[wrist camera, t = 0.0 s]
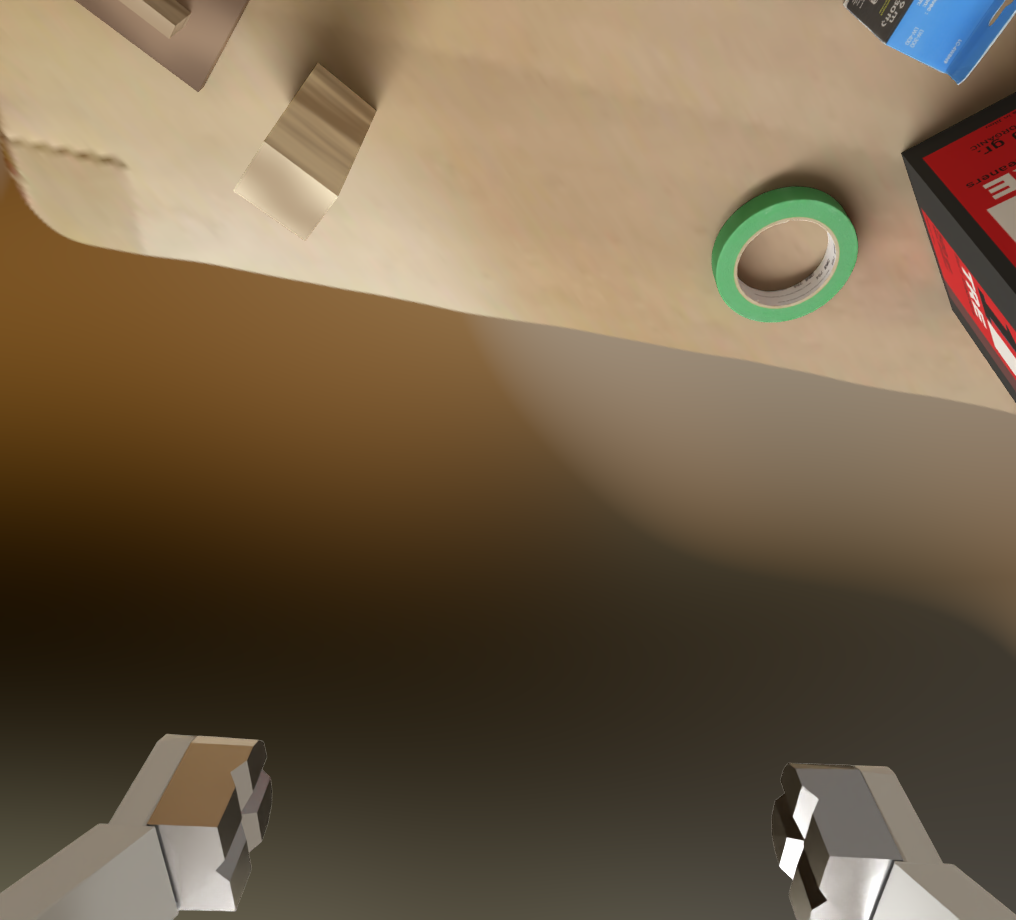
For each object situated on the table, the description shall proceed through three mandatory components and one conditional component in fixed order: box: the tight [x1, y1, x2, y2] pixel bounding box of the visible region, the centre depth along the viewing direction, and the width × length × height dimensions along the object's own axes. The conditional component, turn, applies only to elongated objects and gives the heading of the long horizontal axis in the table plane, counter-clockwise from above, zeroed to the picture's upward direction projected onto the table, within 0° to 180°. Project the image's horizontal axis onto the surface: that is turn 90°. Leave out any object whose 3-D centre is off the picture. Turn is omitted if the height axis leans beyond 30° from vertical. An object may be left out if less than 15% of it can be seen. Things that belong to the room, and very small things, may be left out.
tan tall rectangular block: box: [233, 63, 376, 241], centre depth 50 cm, size 4×5×14 cm
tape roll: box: [712, 186, 858, 322], centre depth 61 cm, size 11×11×3 cm
